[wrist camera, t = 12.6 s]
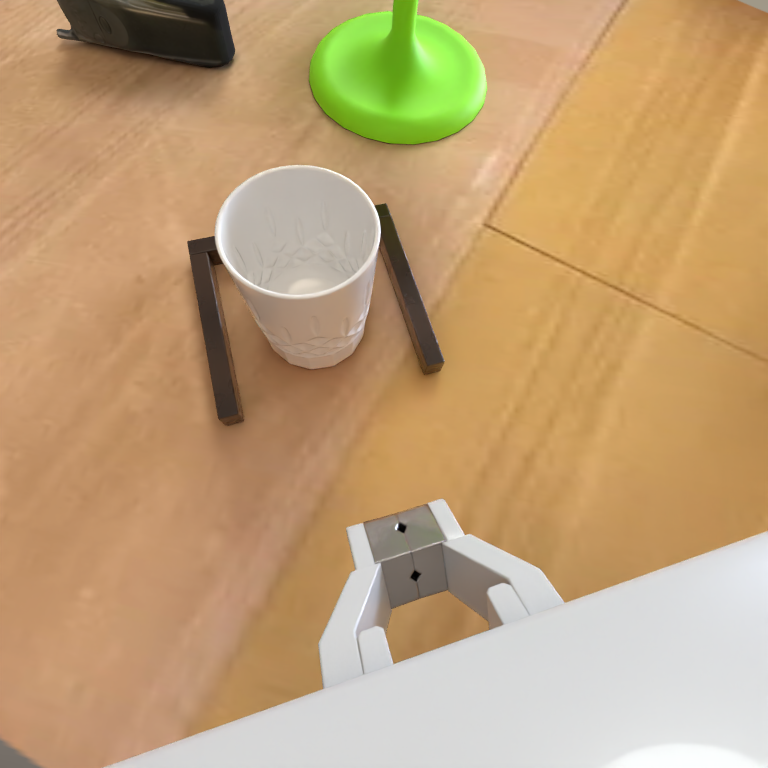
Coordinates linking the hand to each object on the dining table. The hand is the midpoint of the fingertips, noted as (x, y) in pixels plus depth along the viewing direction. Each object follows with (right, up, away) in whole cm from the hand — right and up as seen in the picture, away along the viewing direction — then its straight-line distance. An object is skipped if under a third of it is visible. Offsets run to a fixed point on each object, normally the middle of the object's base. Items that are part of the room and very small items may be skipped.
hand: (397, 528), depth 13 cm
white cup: (-5, +8, +18) cm, 20 cm away
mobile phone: (-21, +34, +26) cm, 47 cm away
